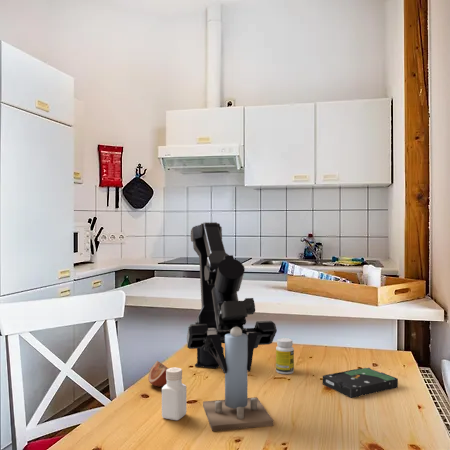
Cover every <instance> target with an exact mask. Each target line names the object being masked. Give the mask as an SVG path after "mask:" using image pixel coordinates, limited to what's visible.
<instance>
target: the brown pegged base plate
mask: <svg viewBox="0 0 450 450" xmlns="http://www.w3.org/2000/svg"><path fill="white" fill-rule="evenodd" d="M202 408H203V409H204V413H205V415H206V418H207V420H208V424H209V426H210V429H211V431H212V432H217V431H219V432H220V431H228V430H229V431H230V430H241V429H249V428H252V429H253V428H260V427H270V426H271V427H272V426H273V427H274V419H273V418H272V416H271V415H270V414H269V412H268V411H267V409H266V408H265V406H264V405H263V403H262V402H261V401H260V399H259V397H257V396H254V397H247V406H246V407H241V406H240V407H237V408H230V407H227V406H226V405H225V399H218V400H217V399H216V400H204V401H202Z"/></svg>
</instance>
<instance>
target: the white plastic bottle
mask: <svg viewBox="0 0 450 450" xmlns="http://www.w3.org/2000/svg"><path fill="white" fill-rule="evenodd" d="M168 368H169V369H167V370H166V380H167V384H166V385H165V386H162V387H161V417H162V418H163V419H167V420H172V421H180V419H182V418H183V417H184V416H185V415H187V385H186V384H184V383H183V381H182V380H183V369H182V368H180V367H175V366H174V367H168Z"/></svg>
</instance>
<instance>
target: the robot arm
mask: <svg viewBox="0 0 450 450" xmlns="http://www.w3.org/2000/svg"><path fill="white" fill-rule="evenodd" d="M222 228H223V227H222V226H221V225H220V223H217V222H213V221H212V222H211V221H210V222H203V223H200V224H198V225H194V226H192V228H191V229H190V241H191V242H192V247H193V250H194V251H195V253H196V255H197V256H198V259H199V277H200V280H199V281H200V296H201V297H200V298H201V299H200V300H201V308H200V311H199V312H198V314H197V316H196V321H195V322H194V324H193V323H191V324H190V325H188V327H187V335H186V345H187V347H186V348H188V349H190V350H194V349H196V363H195V364H194V367H199V368H209V369H218V368H219V367H220V369H221V371H222V372H223V374H225V373H227V366H226V361H225V347H223V346H222V345H223V344H225V335H226V334H228V333H230V331H231V329H232V328H233V327H239V328H240V329H241V330H242V333H244V334H247V373H248V372H251V370H252V363H253V356H254V349H257V348H259V346H265V345H272V343H273V341H274V339H275V337H276V334H277V329H278V328H277V326H276V325H277V324H276V323H275V322H274V321H272V320H260V321H257V320H256V322H255V325H254V327H244V326H245V325H246V324H247V320H246V319H247V318H248V315H254V314H255V313H256V304H255V300H254V297H248V298H247V297H246V298H244V300H239V297H238V292H239V291H240V289H241V286H242V281H243V278H244V275H245V269H246V268H245V266H244V265H243V263H242V262H241V261H239V260H237V259H236V258H234V255H233V254H231V255H229V254H228V253H227V252H226V250H225V247H224V242H223V229H222Z"/></svg>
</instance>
